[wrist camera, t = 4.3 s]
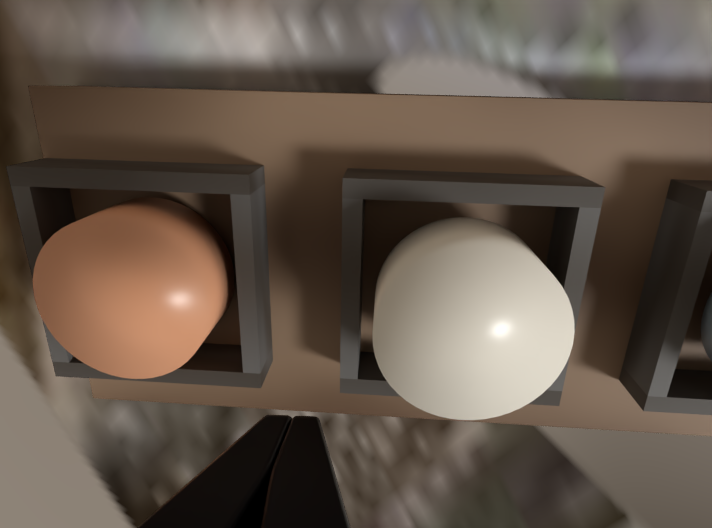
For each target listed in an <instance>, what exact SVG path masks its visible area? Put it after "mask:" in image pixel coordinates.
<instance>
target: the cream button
mask: <svg viewBox="0 0 712 528" xmlns="http://www.w3.org/2000/svg"><path fill="white" fill-rule="evenodd" d="M574 333H575V330H574V316H573V310H572V307H571V304H570V301H569V298H568V296H567V294H566V293H565V291H564V289H563V287H562V286H561V284H560V283H559V282H558V280H557V279H556V278H555V276H554V275H553V274H552V273H551V272H550V271H549V270H548V268H547V267H546V266H545V265H544V264H543V263H542V262H541V260H540V259H539V258H538V257H537V256H536V255H535V254H534V252H533V251H532V250H531V249H530V248H529V247H528V246H527V244H526V243H525V242H523V241H522V240H521V239H520V238H519V237H518V236H517V235H516V234H514V233H513V232H512V231H510V230H508V229H507V228H505V227H503V226H501V225H499V224H496V223H494V222H491V221H488V220H483V219H479V218H470V217H455V218H448V219H442V220H439V221H435V222H432V223H429V224H427V225H425V226H422V227H420V228H419V229H417V230H415V231H413V232H412V233H410V234H409V235H408V236H406V237H405V238H404V239H402V240H401V241H400V242H399V243H398V244H397V245H396V246H395V247H394V249H393V250H392V251H391V252H390V254H389V255H388V256H387V258H386V260H385V262H384V263H383V265H382V268H381V270H380V272H379V275H378V279H377V283H376V291H375V304H374V319H373V333H372V334H373V348H374V354H375V358H376V361H377V364H378V366H379V368H380V370H381V372H382V374H383V376H384V378H385V379H386V380H387V382H388V383H389V385H390V386H391V387H392V388H393V389H394V390H395V391H396V392H397V394H399V395H400V396H401V397H402V398H403V399H405V400H406V401H407V402H409V403H410V404H412V405H414V406H415V407H417V408H419V409H421V410H423V411H425V412H428V413H430V414H433V415H436V416H440V417H444V418H449V419H457V420H481V419H488V418H493V417H498V416H501V415H504V414H508V413H511V412H513V411H515V410H517V409H520V408H522V407H523V406H525V405H527V404H529V403H530V402H532V401H533V400H535V399H536V398H537V397H539V396H540V395H541V394H543V393H544V392H545V391H546V390H547V389H548V388H549V387H550V386H551V385H552V384H553V382H554V381H555V380H556V379H557V378H558V376H559V375H560V373H561V372H562V370H563V368H564V367H565V365H566V363H567V360H568V358H569V356H570V353H571V349H572V346H573V340H574Z"/></svg>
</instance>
